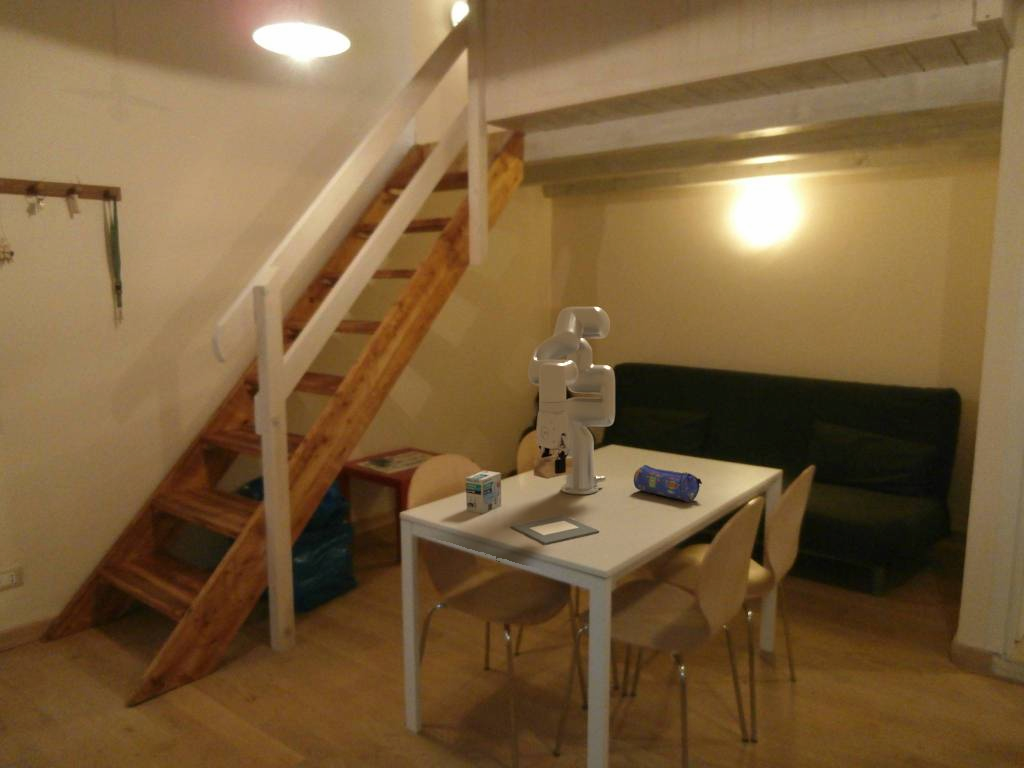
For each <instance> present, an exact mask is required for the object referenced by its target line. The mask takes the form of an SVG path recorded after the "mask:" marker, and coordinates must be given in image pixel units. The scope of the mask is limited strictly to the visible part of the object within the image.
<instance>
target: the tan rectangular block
mask: <svg viewBox="0 0 1024 768" xmlns="http://www.w3.org/2000/svg"><path fill="white" fill-rule="evenodd" d="M555 459H557V458H556V454H554V455H553V454H552V456H548V457H543V458H541V457H539V458H535V459H533V476H535V477H539V478H543V479H547V480H549V479H552V478H556V477H561V476H566V474H570V473H573V457H570V456H567V458H566V472H565V473H560V474H556V473H555Z"/></svg>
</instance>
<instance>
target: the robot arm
mask: <svg viewBox="0 0 1024 768" xmlns="http://www.w3.org/2000/svg"><path fill="white" fill-rule="evenodd" d="M610 331H611V319H610V317H609V315H608V313H607V312H606V311H605V310H604V309H603V308H601V307H598V306H568V307H565V308H563V309H562V310H561V311H560V312H559V314H558V316H557V319H556V323H555V327H554V331H553V334H552V336H549V338H547V339H545V340H544V341H542V342H541V343H540V344H539V345H537V346H536V347H535V348H534V350H533V351H532V353H531V356H530V360H529V364H528V367H527V369H528V370H527V377H528V380H529V382H530V383H531V384H532V385H534V386H538V392H539V393H538V395H539V396H538V397H539V400H538V405H539V409H538V411H537V412H538V413H537V419H536V431H535V432H536V434H535V436H536V437H535V439H536V440H535V441H536V445H537V446H538V448H539V451H540V453H539V454H540V456H541V457H540V458H543V457H548V456H553V454H552V453H551V451H554V453H555V454H554V455H556V458H557V459H555V473H556V474H560V473H565V472H566V458H567V456H570V457H573V473H570V474H566V475H565V483H564V484H562V485H561V487H560V488H561V489H560V490H561V491H562V492H564V493H565V494H571V495H590V494H594V493H597V492H598V491H599V487H600V486H598V483H601V482H605V481H606V477H605V475H601V476H600V475H599V476H598V475H594V474H595V463H594V462H595V455H594V453H595V449H594V448H595V447H594V446H595V445H594V444H595V443H594V437H593V435H592V433H591V431H590V430H589V429H588V427H602V428H603V427H610V426H612V425H613V424H614V422H615V417H616V376H615V371H614V369H613V367H611V366H609V365H606V364H594V362H593V348H592V346H591V345H590V344H589V342H588V340H586V339H605V338H607V337H608V336H609V334H610ZM564 357H566V359H561V358H564ZM567 389H568V390H569V391H570V392H571V393H573V394H574V393H576V394H598V395H599V396H601V397H585V396H583V397H582V396H580V397H579V396H576V397H570V398H567ZM560 451H561V452H560Z"/></svg>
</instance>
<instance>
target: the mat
mask: <svg viewBox="0 0 1024 768" xmlns="http://www.w3.org/2000/svg"><path fill="white" fill-rule="evenodd" d="M510 528H512V529H514V530H515V531H518V532H519V533H521V534H524V535H525V536H527V537H529V538H532V539H534V540H535V541H538V542H539V543H542V544H543V545H549V544H550V545H551V544H554V543H555V544H556V543H558V542H559V543H560V542H563V541H568V540H571V539H572V540H573V539H576V538H580V537H581V538H582V537H586V536H589V535H594V534H598V533H599V534H600V530H599V529H597V528H594V527H592V526H589V525H587V524H584V523H582V522H579V521H577V520H575V519H573V518H571V517H568V516H566V515H564V514H559V515H556V516H555V515H554V516H550V517H546V518H541V519H535V520H531V521H527V522H522V523H516V524H515V523H514V524H512V525H511V524H510Z"/></svg>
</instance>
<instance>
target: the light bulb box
mask: <svg viewBox="0 0 1024 768" xmlns="http://www.w3.org/2000/svg"><path fill="white" fill-rule="evenodd" d="M465 494H466V495H465V497H466V511H467V512H472V513H477V514H478V513H479V514H486V513H488V512H490V511H493V510H495V509H497V508H499V507H501V506H502V473H501V472H498V471H497V472H496V471H490V470H482V471H479V472H477V473H474V474H471V475H469V476H466V477H465Z"/></svg>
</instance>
